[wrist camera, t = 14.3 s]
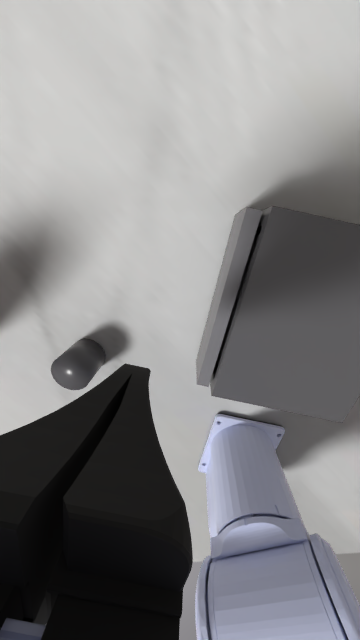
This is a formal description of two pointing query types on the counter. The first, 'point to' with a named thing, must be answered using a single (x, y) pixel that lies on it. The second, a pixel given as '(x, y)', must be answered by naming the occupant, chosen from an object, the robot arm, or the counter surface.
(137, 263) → the counter surface
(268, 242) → the grey drawer box
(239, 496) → the robot arm
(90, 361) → the grey rounded piece
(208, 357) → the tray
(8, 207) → the counter surface
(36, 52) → the counter surface
